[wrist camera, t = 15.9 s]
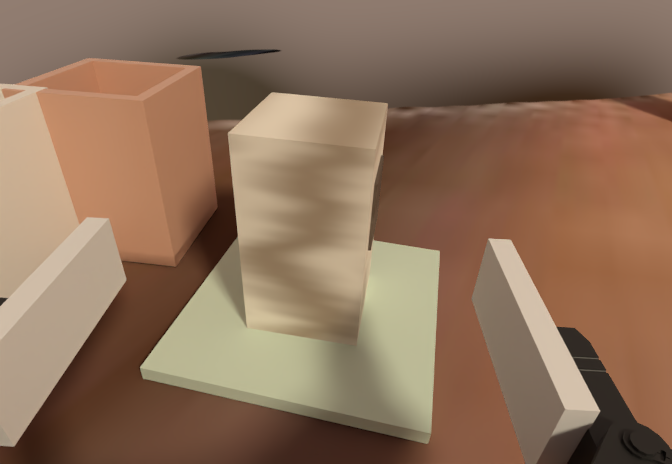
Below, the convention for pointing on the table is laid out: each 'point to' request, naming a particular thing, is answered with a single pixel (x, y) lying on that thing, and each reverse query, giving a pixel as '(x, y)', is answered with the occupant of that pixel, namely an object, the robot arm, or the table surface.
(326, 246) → the beige rectangular block
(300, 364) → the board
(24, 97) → the white open box
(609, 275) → the table surface
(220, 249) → the table surface
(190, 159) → the terracotta open box
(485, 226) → the table surface
